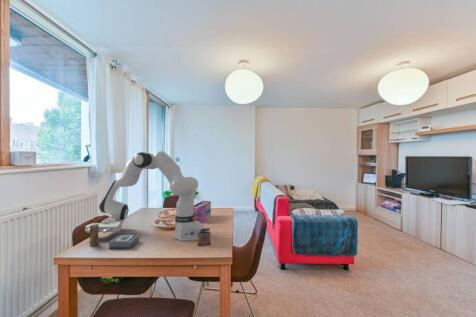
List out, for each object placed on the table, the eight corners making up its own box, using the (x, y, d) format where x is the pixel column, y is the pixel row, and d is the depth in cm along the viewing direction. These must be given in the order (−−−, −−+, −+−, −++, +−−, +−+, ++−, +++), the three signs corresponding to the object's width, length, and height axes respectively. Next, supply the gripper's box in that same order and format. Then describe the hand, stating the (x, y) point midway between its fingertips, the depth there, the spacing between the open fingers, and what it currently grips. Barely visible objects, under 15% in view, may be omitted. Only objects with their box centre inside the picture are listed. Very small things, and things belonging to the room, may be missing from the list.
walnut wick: (98, 243, 140) (98, 223, 140) (94, 246, 136) (94, 225, 136) (94, 243, 140) (94, 223, 140) (89, 246, 136) (90, 225, 136)
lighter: (198, 246, 137) (198, 229, 136) (196, 244, 140) (197, 228, 140) (211, 244, 140) (211, 228, 140) (209, 243, 143) (209, 226, 143)
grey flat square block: (139, 241, 144) (139, 234, 144) (130, 249, 132) (130, 241, 132) (119, 241, 144) (119, 234, 144) (109, 248, 132) (109, 241, 132)
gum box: (200, 224, 183) (200, 206, 183) (191, 223, 184) (191, 206, 184) (210, 216, 206) (211, 201, 206) (202, 215, 208) (202, 200, 208)
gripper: (93, 219, 153) (78, 226, 140) (124, 220, 154) (113, 226, 140) (92, 229, 153) (78, 236, 140) (124, 229, 154) (113, 236, 140)
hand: (96, 231), depth 140 cm, fingers open, 8 cm apart
